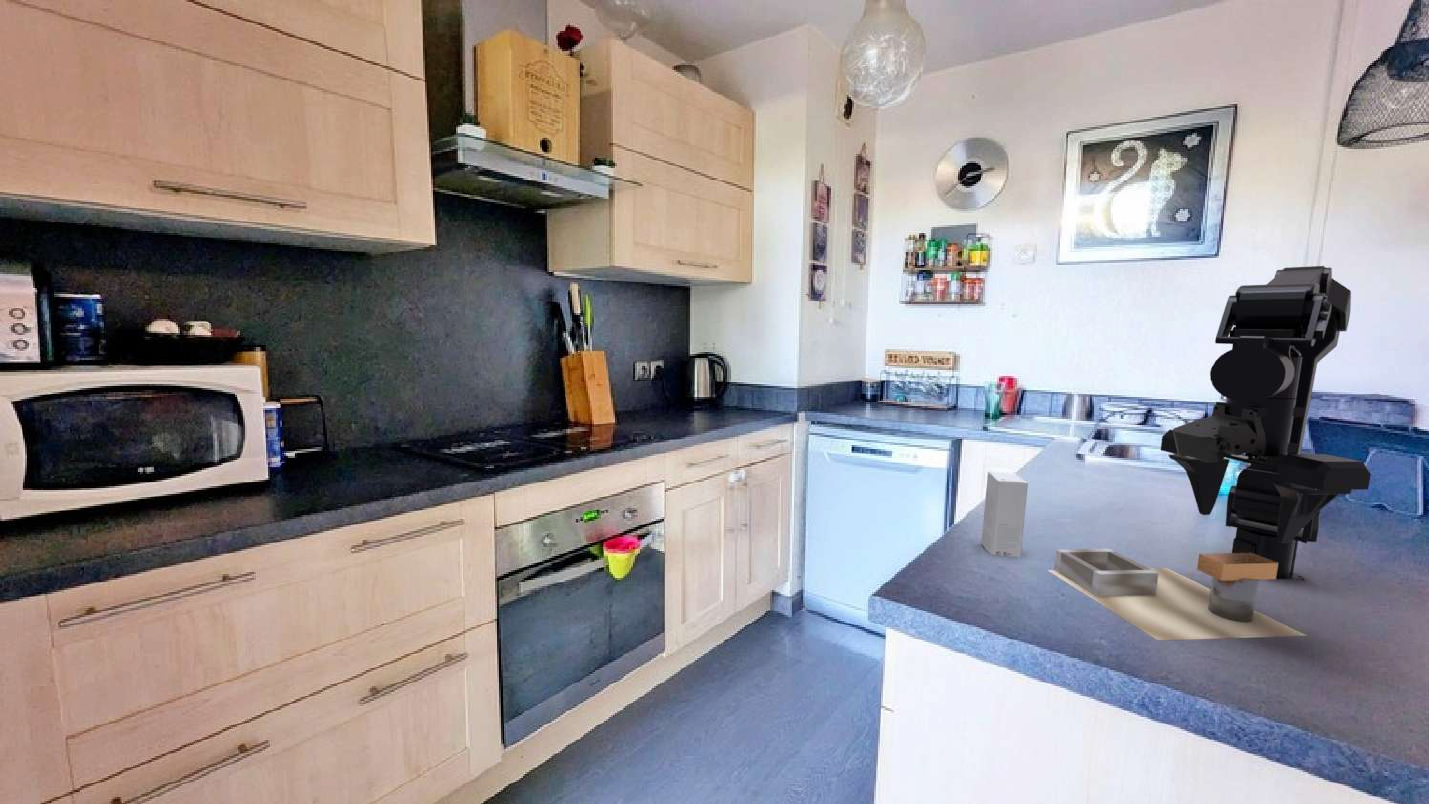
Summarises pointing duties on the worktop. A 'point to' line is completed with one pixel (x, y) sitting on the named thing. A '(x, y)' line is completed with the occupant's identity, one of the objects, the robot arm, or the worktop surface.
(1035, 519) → the worktop surface
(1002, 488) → the skincare box
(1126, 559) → the base
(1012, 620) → the worktop surface
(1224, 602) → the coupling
